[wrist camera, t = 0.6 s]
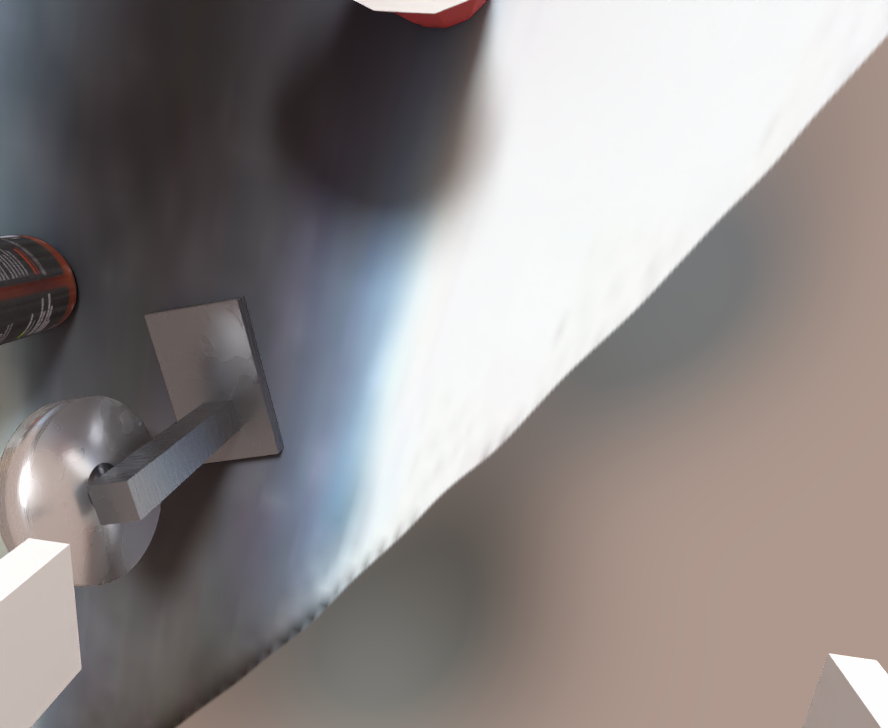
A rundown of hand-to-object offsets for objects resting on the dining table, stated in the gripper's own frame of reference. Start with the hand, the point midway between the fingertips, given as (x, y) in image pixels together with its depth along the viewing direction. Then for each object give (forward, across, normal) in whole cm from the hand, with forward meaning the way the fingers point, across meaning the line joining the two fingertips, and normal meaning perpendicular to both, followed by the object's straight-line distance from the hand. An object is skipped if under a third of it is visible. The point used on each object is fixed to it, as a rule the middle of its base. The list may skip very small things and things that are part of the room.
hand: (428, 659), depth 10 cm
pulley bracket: (+26, -16, -6) cm, 31 cm away
